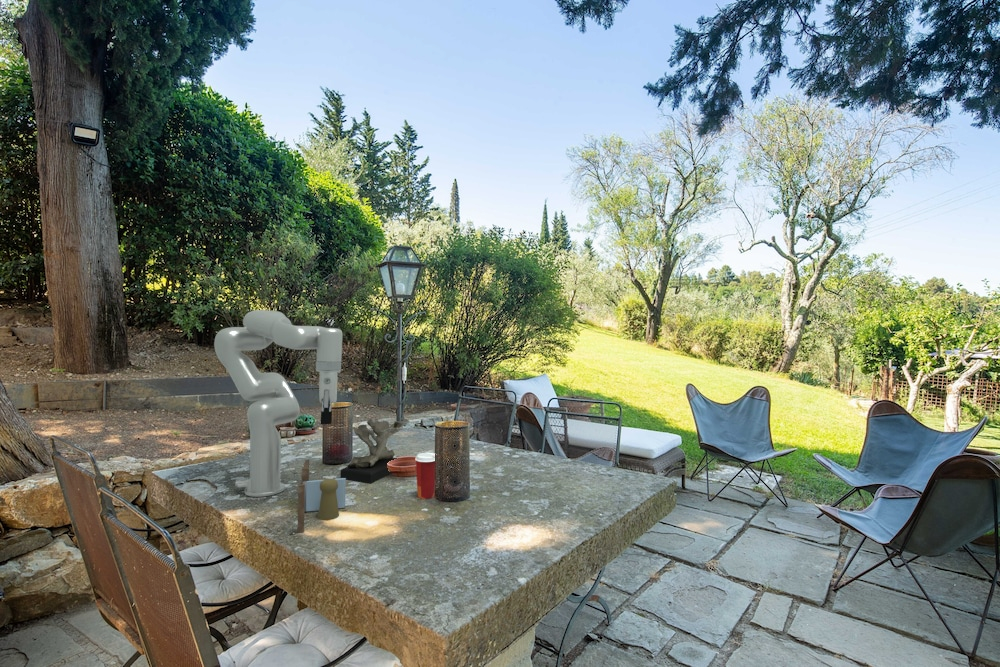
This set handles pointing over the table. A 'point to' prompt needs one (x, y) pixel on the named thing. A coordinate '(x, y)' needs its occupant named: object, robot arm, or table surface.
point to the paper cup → (425, 475)
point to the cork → (328, 500)
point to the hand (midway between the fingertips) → (326, 423)
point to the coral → (373, 452)
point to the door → (315, 494)
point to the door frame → (302, 496)
